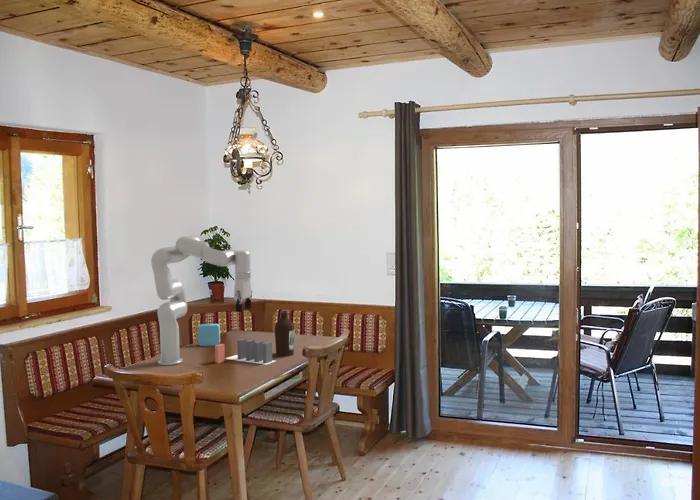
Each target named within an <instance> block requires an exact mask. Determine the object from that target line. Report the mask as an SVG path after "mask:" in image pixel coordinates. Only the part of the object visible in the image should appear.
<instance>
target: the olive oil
mask: <svg viewBox="0 0 700 500" xmlns="http://www.w3.org/2000/svg"><path fill="white" fill-rule="evenodd" d="M280 316H281V317H280V319H279V318H278V320H277V321H276V323H275V325H274V341H275V342H274V343H275V355H276V356H277V357H291V356H294V355H295V330H296V329H295V325H294V322H292V320H290V318H289V317H288V310H287V309H281V310H280Z"/></svg>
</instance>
